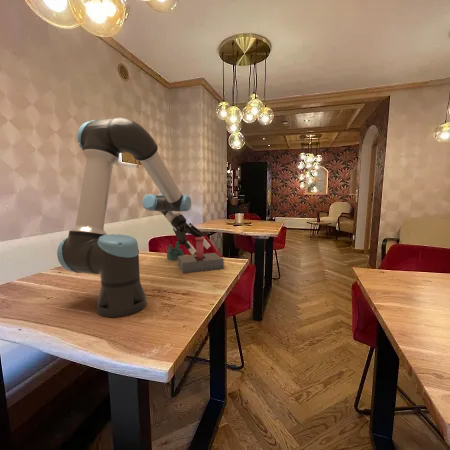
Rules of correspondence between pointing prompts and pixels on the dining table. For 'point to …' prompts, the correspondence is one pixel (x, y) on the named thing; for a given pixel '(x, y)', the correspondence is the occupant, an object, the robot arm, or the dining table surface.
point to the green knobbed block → (174, 252)
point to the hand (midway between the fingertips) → (202, 250)
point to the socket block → (200, 263)
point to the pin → (199, 247)
